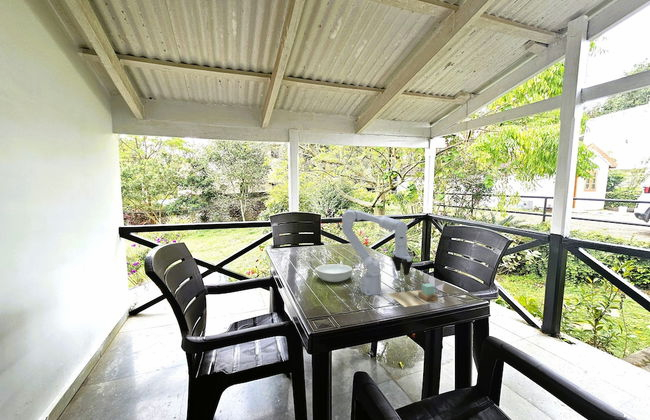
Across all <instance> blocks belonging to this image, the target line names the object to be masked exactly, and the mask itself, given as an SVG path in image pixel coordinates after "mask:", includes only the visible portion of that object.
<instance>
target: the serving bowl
mask: <svg viewBox="0 0 650 420" xmlns="http://www.w3.org/2000/svg"><path fill="white" fill-rule="evenodd" d="M315 269H316V274H317V276H318V277H319V278H320V279H321V280H323V281H326V282H330V283H340V282H343V281H346V280H347V279H349V278H350V277H351V275H352V273H353V268H352V266H350V265H346V264H342V263H331V264H330V263H328V264H327V263H326V264H322V265H319V266H317V267H316V268H315Z"/></svg>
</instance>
